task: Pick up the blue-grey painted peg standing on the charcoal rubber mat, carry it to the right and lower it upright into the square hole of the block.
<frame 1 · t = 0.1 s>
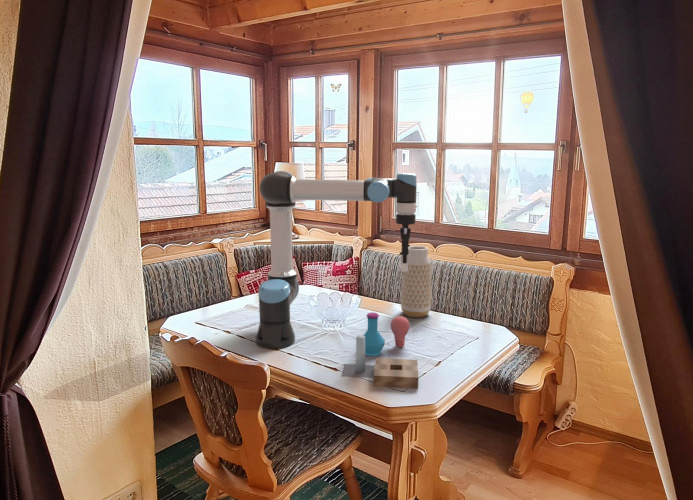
hand: (404, 267, 208), 28 cm above the table, fingers open, 13 cm apart
hole block: (395, 378, 174), on the table
light bulb: (399, 347, 201), on the table
perfume bottle: (372, 353, 195), on the table
peg: (360, 370, 179), resting on mat
mat: (360, 371, 179), on the table
vase: (415, 314, 240), on the table
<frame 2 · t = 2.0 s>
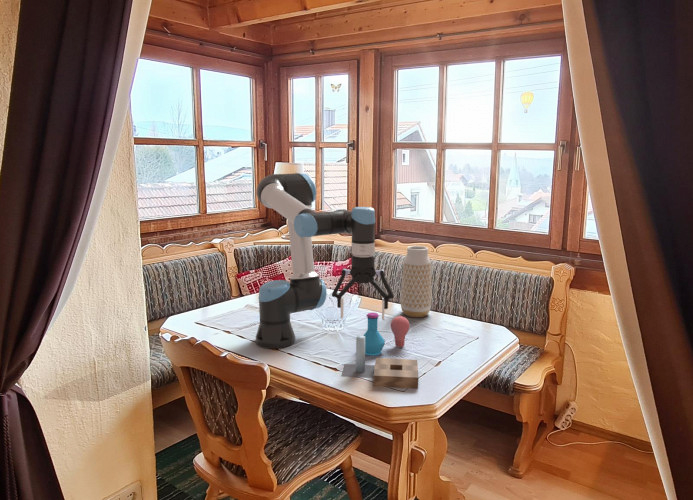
hand: (362, 317, 176), 19 cm above the table, fingers open, 13 cm apart
nothing on the table moved.
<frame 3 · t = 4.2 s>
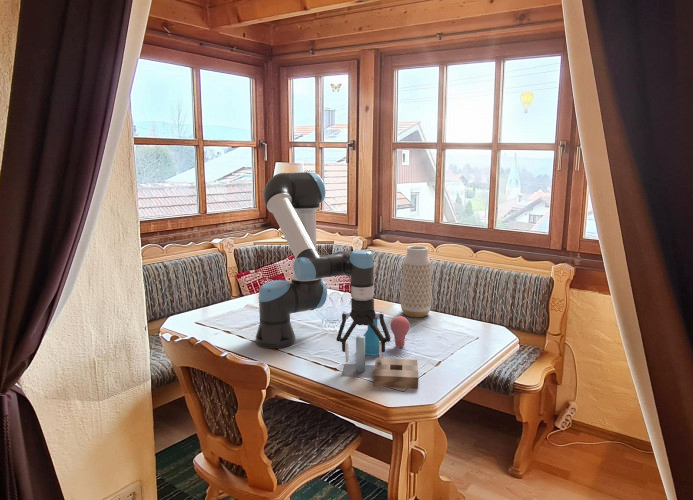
hand: (363, 360, 178), 4 cm above the table, fingers open, 11 cm apart
nothing on the table moved.
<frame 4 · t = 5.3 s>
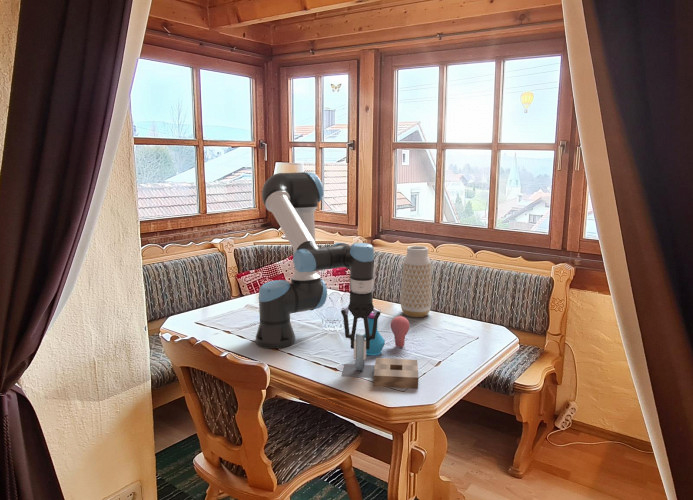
hand: (359, 357, 179), 5 cm above the table, fingers closed on peg, 2 cm apart
peg: (359, 368, 179), point 1 cm above the table, touching gripper
everything else where it was.
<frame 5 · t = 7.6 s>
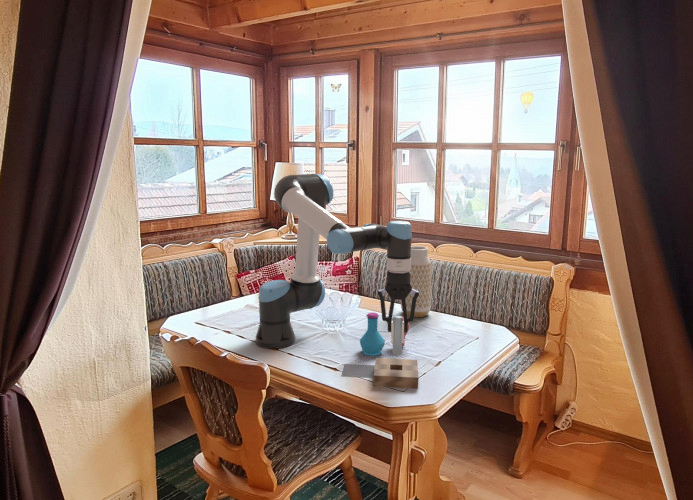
hand: (397, 341, 171), 13 cm above the table, fingers closed on peg, 3 cm apart
peg: (397, 352, 172), point 9 cm above the table, touching gripper
everything else where it was.
when the fingers open (4 cm above the table, at t = 9.6 s): peg stays where it is, resting in hole block.
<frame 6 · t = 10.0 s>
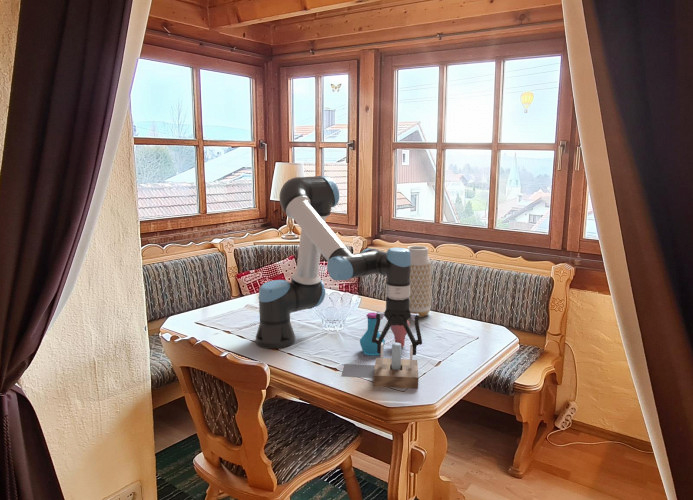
hand: (396, 363, 173), 5 cm above the table, fingers open, 9 cm apart
peg: (395, 378, 174), resting in hole block
everything else where it was.
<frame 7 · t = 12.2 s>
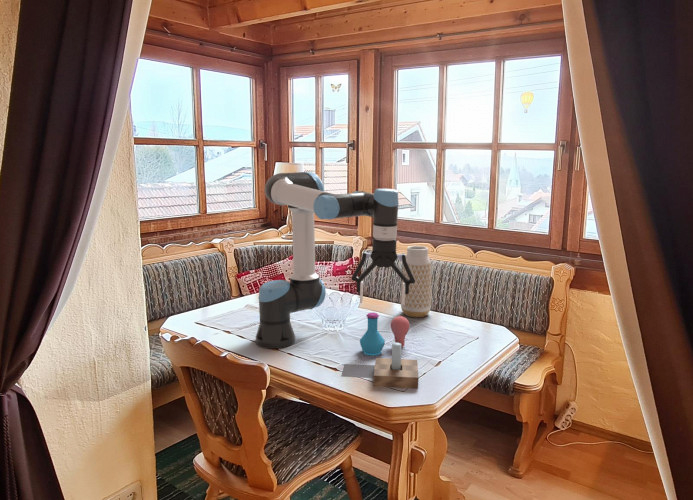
hand: (382, 302, 172), 25 cm above the table, fingers open, 13 cm apart
nothing on the table moved.
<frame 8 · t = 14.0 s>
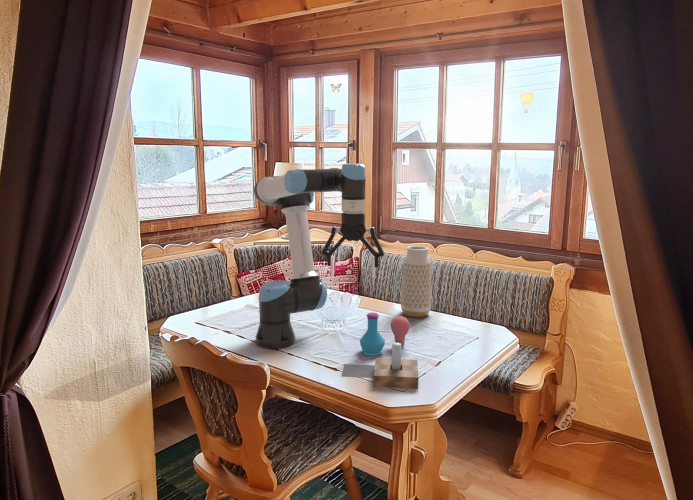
hand: (352, 276, 175), 33 cm above the table, fingers open, 13 cm apart
nothing on the table moved.
at the end: peg 0.1 cm off-centre on the hole block, point 0.0 cm above the hole block's base; peg tilted 0°; the gripper is holding nothing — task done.
